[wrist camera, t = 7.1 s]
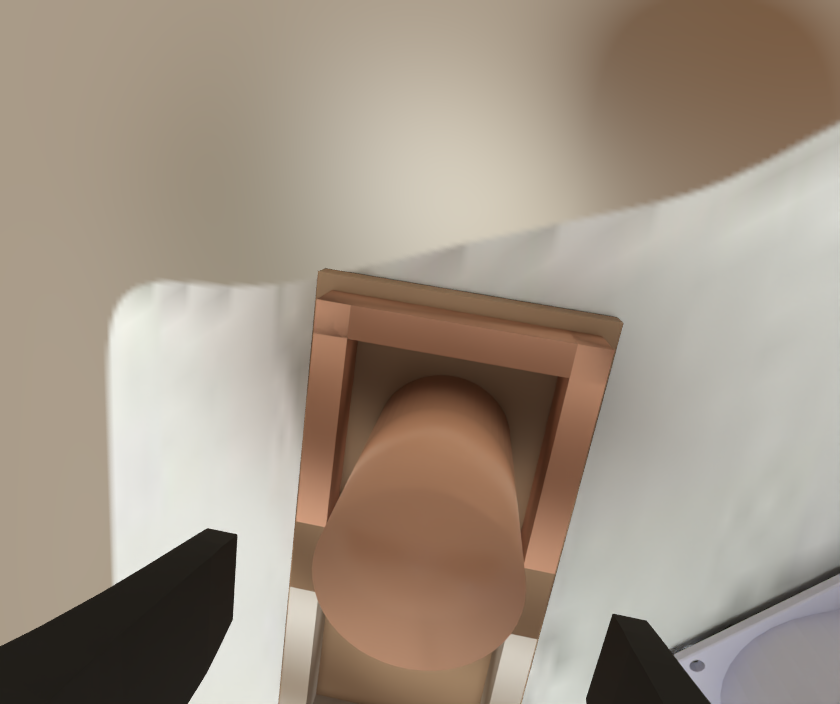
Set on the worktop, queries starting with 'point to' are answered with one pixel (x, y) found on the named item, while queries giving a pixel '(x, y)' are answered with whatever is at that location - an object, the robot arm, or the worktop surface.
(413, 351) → the tray
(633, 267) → the worktop surface
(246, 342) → the worktop surface
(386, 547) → the tube
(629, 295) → the worktop surface
